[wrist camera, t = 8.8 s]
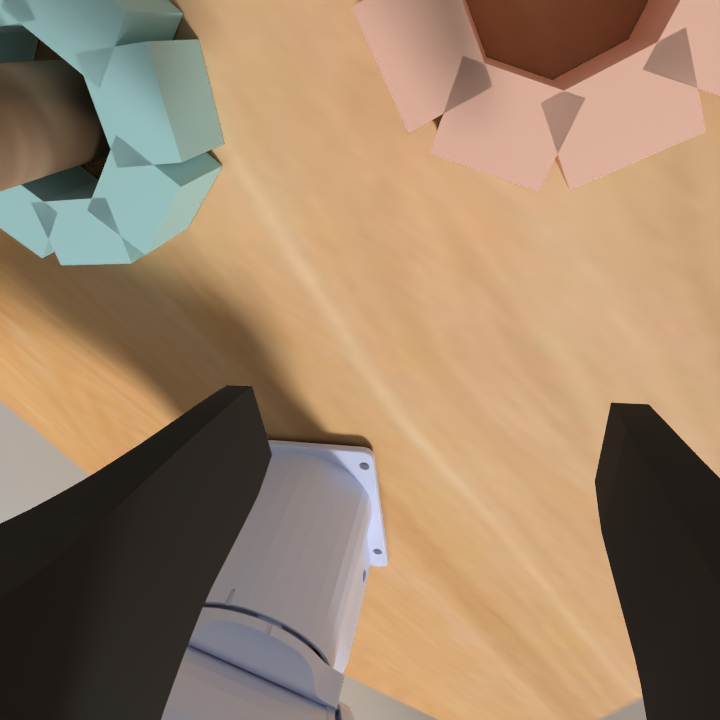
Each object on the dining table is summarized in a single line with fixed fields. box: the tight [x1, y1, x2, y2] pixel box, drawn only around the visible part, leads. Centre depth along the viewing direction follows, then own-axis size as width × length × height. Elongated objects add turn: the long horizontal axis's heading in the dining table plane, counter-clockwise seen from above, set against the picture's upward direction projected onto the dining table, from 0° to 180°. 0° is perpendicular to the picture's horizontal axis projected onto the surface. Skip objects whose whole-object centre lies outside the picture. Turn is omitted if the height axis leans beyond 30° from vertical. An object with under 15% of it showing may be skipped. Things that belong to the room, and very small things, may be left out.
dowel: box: [0, 58, 111, 191], centre depth 15 cm, size 3×3×8 cm
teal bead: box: [0, 0, 224, 265], centre depth 17 cm, size 10×10×3 cm
